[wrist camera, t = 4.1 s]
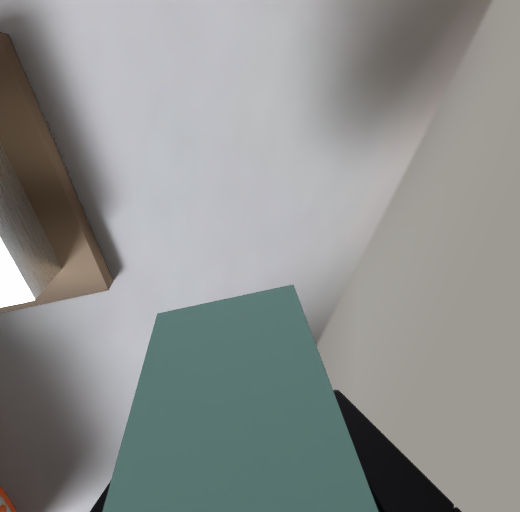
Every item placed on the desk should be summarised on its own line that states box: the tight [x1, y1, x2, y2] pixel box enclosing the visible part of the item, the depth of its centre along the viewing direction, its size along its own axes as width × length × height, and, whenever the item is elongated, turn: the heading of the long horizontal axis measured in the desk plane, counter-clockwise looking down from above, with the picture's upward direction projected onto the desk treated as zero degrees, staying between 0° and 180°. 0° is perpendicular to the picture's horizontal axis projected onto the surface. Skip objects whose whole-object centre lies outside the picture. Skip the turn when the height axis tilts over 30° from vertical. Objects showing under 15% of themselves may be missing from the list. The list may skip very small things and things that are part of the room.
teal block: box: [103, 285, 378, 512], centre depth 7 cm, size 4×4×8 cm
